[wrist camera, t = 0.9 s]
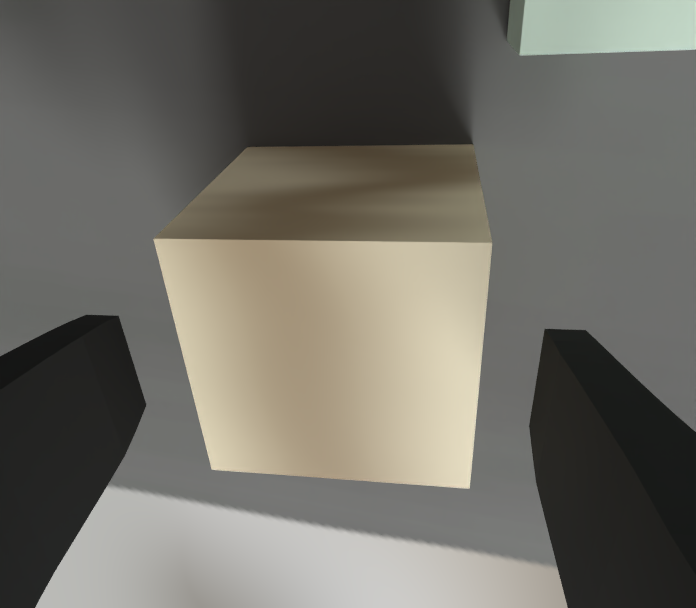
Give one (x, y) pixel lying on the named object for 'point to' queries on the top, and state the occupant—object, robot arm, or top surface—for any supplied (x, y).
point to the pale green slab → (600, 26)
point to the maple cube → (335, 311)
